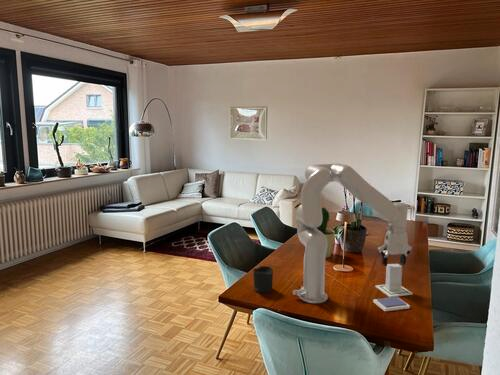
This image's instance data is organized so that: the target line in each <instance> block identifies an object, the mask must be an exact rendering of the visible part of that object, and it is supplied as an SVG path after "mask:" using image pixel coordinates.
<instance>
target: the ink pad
mask: <svg viewBox="0 0 500 375" xmlns="http://www.w3.org/2000/svg"><path fill="white" fill-rule="evenodd" d="M372 301H373V303H374V304H375V305H376V306H377V307H378V308H380V309H382V310H383V311H384V312H390V311H391V312H392V311H399V310H405V309H407V310H408V309H410V308H411V305H409V304H408V302H405V301H404V300H403V299H401V298H399V296H396V297H384V298H375V299H373V300H372Z"/></svg>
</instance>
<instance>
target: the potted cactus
mask: <svg viewBox="0 0 500 375" xmlns="http://www.w3.org/2000/svg"><path fill="white" fill-rule="evenodd" d="M328 210H329V209H327V208H326V207H322V216H323V220H322V223H321V225H320V226H319V227H317V229H318V230H319V231H321V232H322V233H323V234H324V235H325V237H326V239H327V250H326V256H325V259H327V258H330V257H331V255H332V250H333V245H334V241H335V233H336V231H335V230H334V229H330V228H328V224H329V222H330V220H331V218H330V217H331V215H330V212H329V211H328Z"/></svg>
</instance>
